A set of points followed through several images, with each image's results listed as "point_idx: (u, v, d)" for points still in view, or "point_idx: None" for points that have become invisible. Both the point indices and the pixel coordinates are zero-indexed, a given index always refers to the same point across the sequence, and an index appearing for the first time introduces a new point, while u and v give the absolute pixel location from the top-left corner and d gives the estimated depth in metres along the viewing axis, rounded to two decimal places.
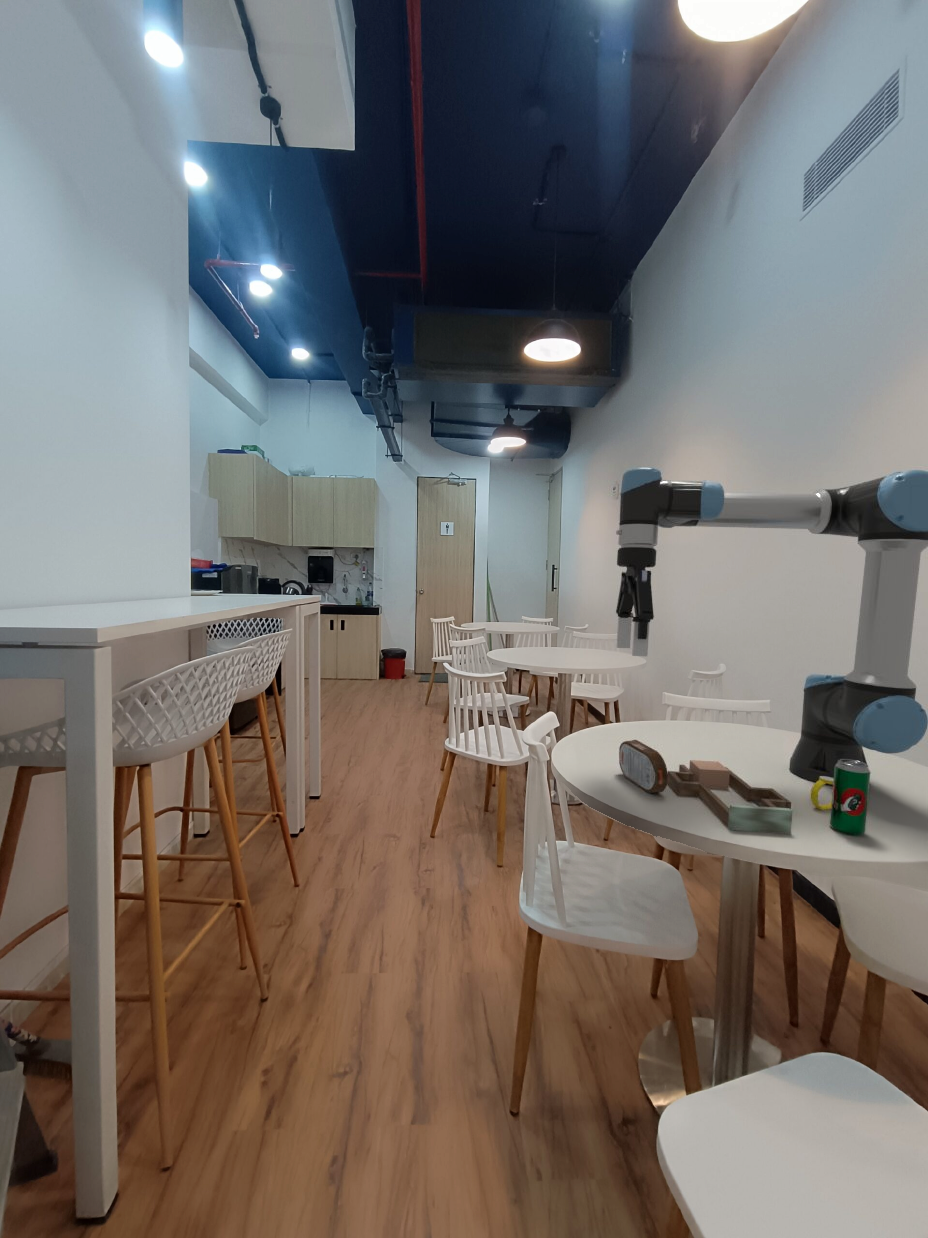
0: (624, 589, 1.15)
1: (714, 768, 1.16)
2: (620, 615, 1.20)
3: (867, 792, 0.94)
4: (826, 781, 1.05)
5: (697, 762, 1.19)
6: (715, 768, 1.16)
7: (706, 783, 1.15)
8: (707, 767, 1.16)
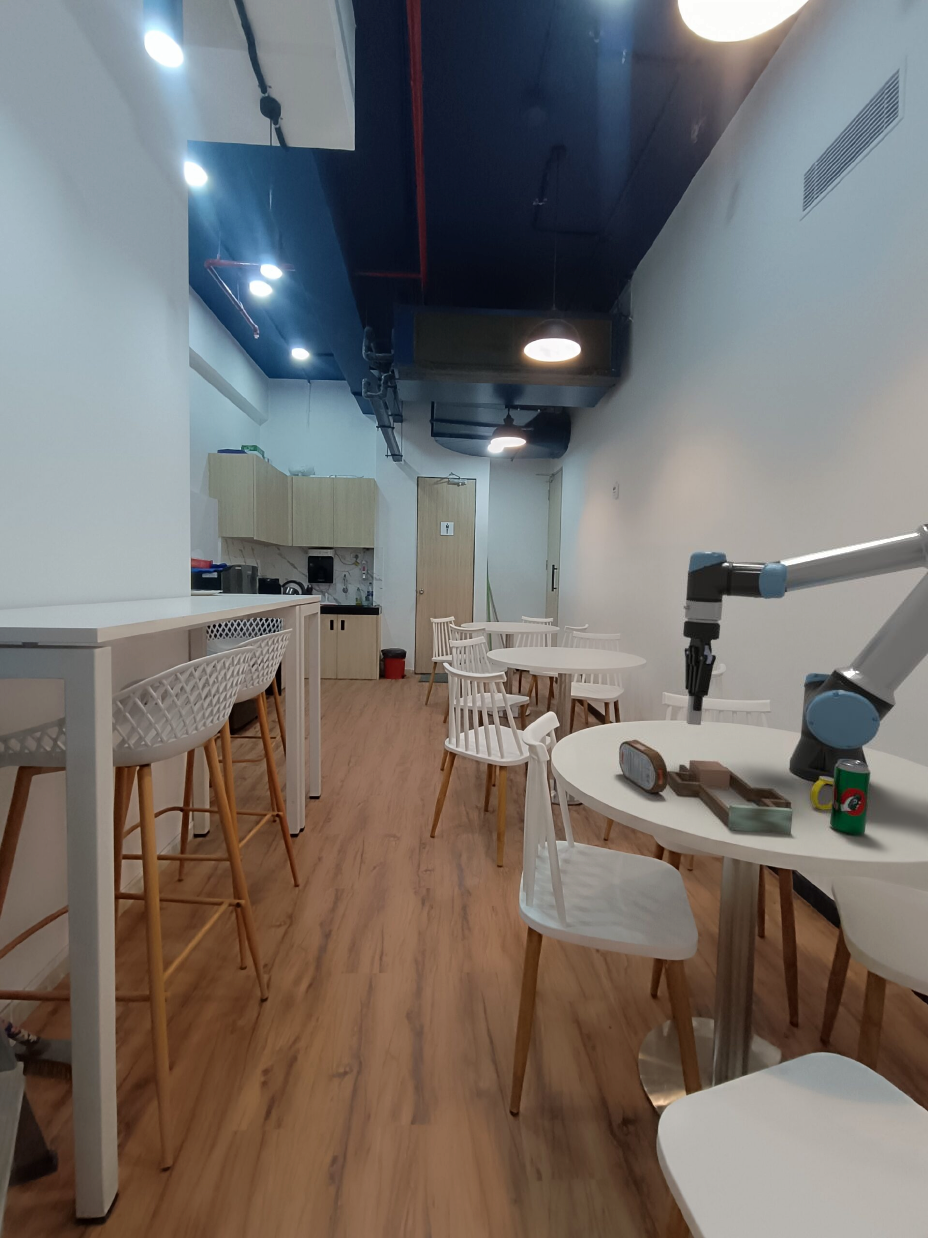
0: (691, 658, 1.27)
1: (714, 768, 1.16)
2: (690, 692, 1.27)
3: (867, 792, 0.94)
4: (826, 781, 1.05)
5: (697, 762, 1.19)
6: (715, 768, 1.16)
7: (707, 783, 1.15)
8: (707, 767, 1.16)
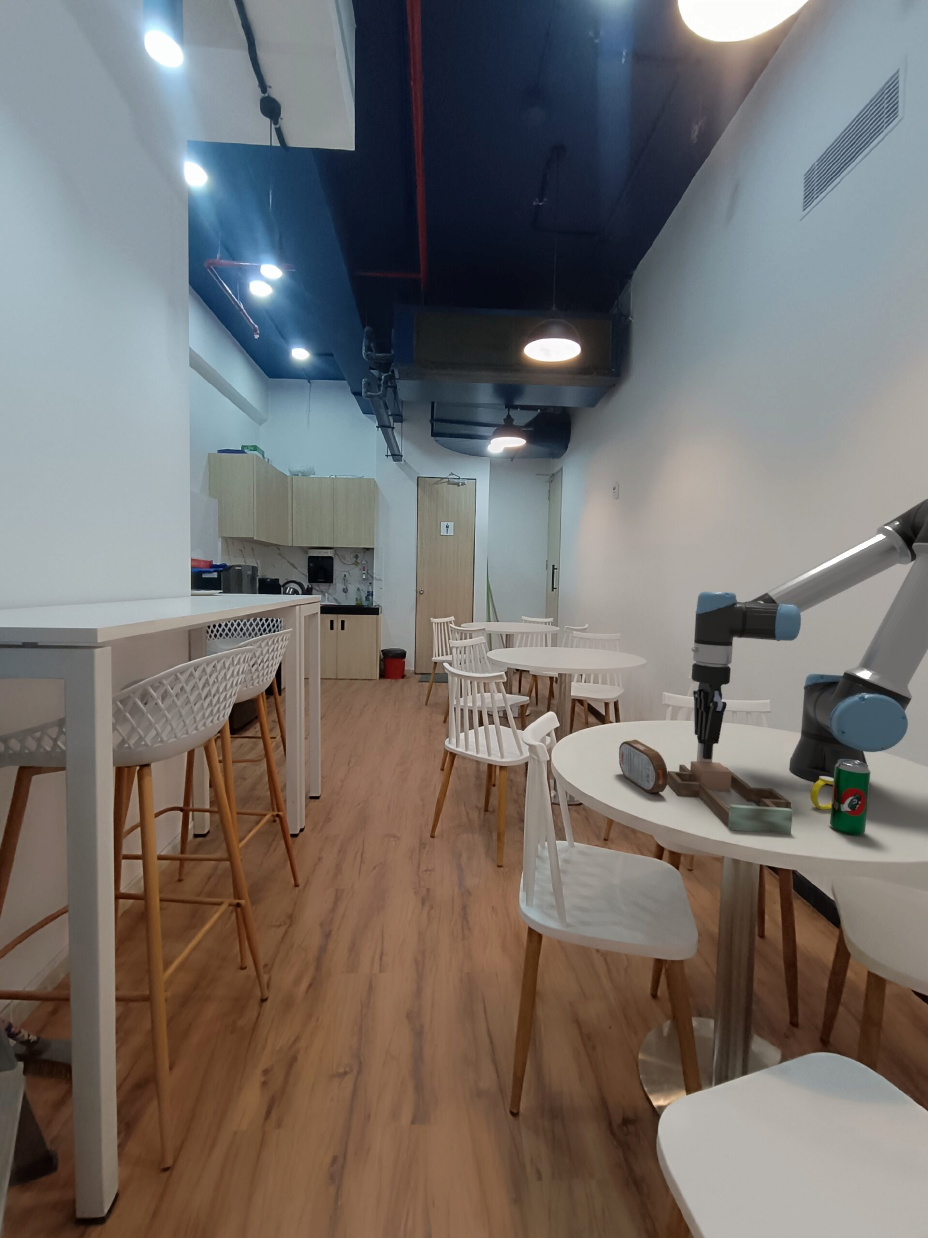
0: (700, 703, 1.20)
1: (716, 769, 1.15)
2: (700, 739, 1.21)
3: (867, 792, 0.94)
4: (826, 781, 1.05)
5: (698, 763, 1.18)
6: (717, 769, 1.14)
7: (708, 784, 1.14)
8: (709, 768, 1.15)
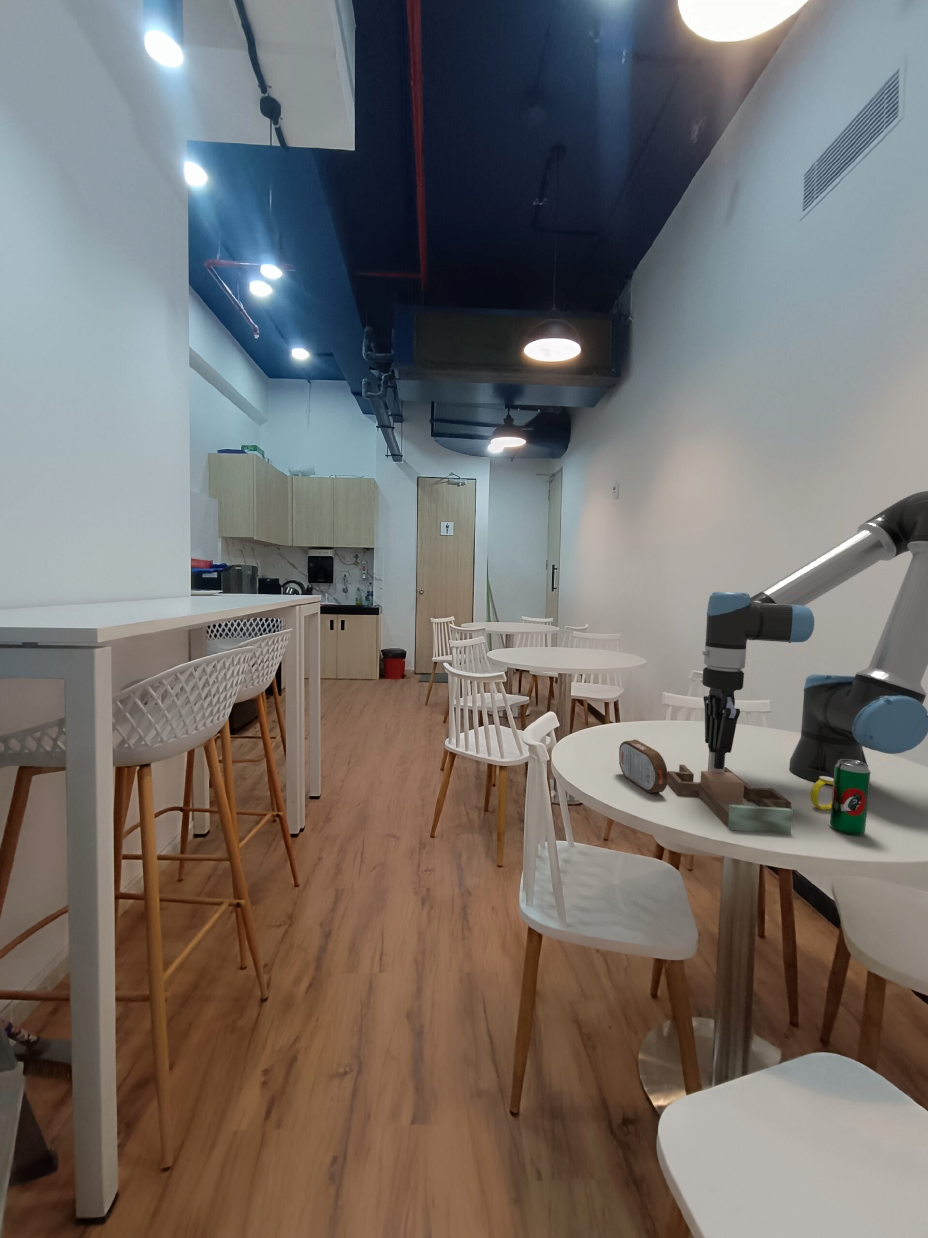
0: (711, 709, 1.14)
1: (727, 780, 1.08)
2: (711, 747, 1.14)
3: (867, 792, 0.94)
4: (826, 781, 1.05)
5: (709, 773, 1.12)
6: (728, 780, 1.08)
7: (718, 796, 1.07)
8: (720, 778, 1.09)
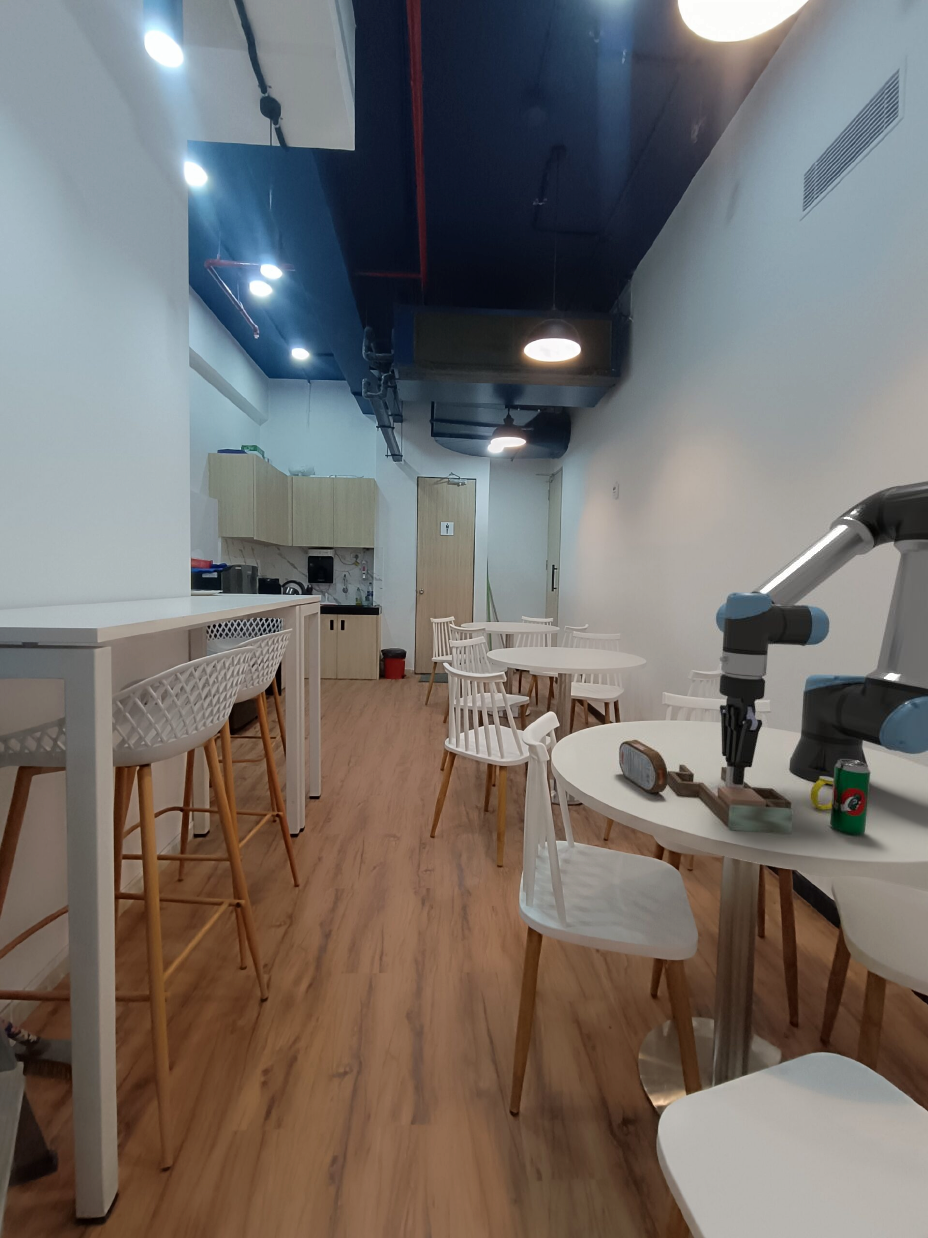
0: (729, 720, 1.05)
1: (747, 797, 1.00)
2: (729, 761, 1.05)
3: (867, 792, 0.94)
4: (826, 781, 1.05)
5: (727, 789, 1.03)
6: (748, 797, 0.99)
7: None
8: (739, 795, 1.00)
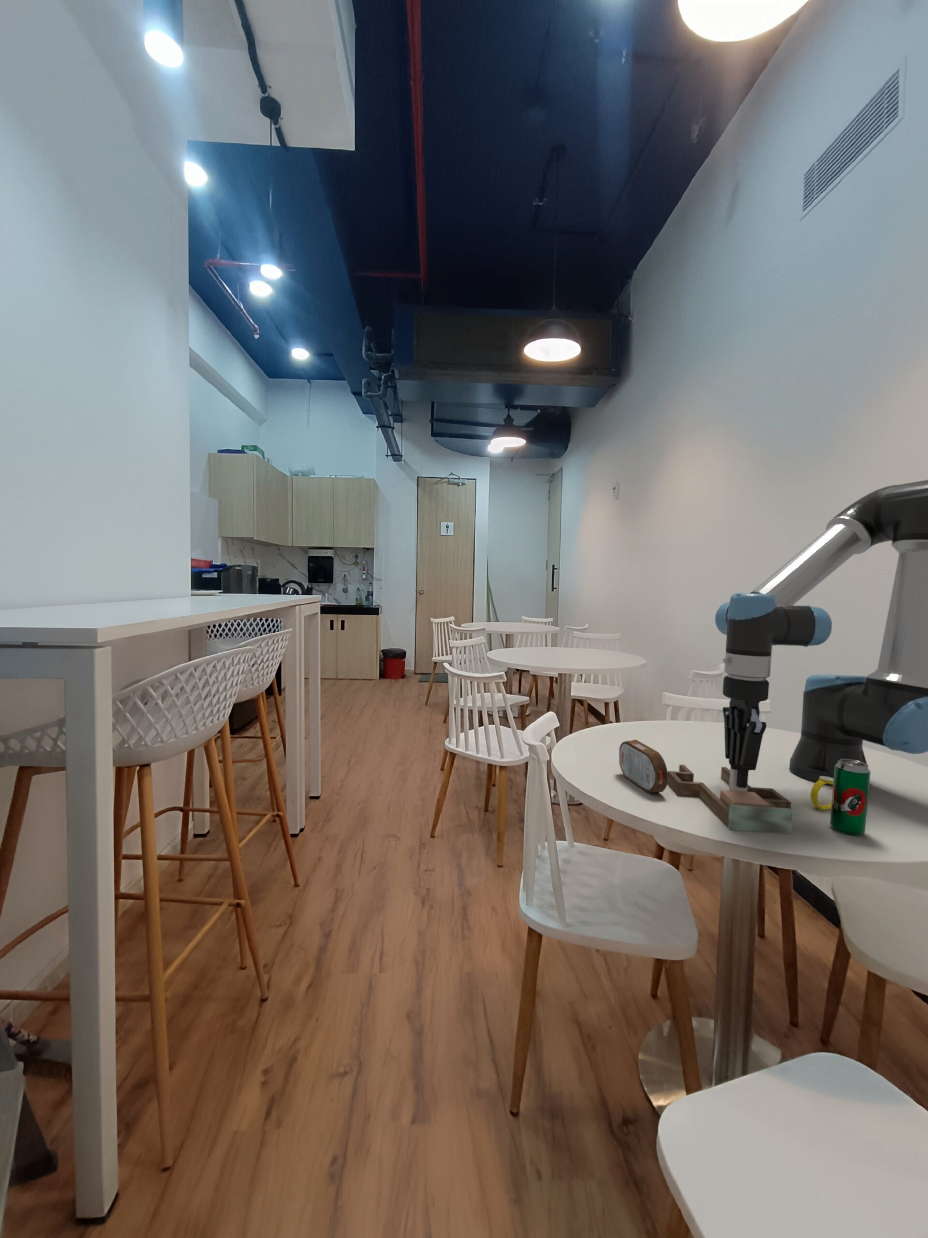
0: (732, 722, 1.04)
1: (750, 801, 0.98)
2: (733, 764, 1.04)
3: (867, 792, 0.94)
4: (826, 781, 1.05)
5: (730, 793, 1.02)
6: (752, 801, 0.98)
7: None
8: (742, 799, 0.99)
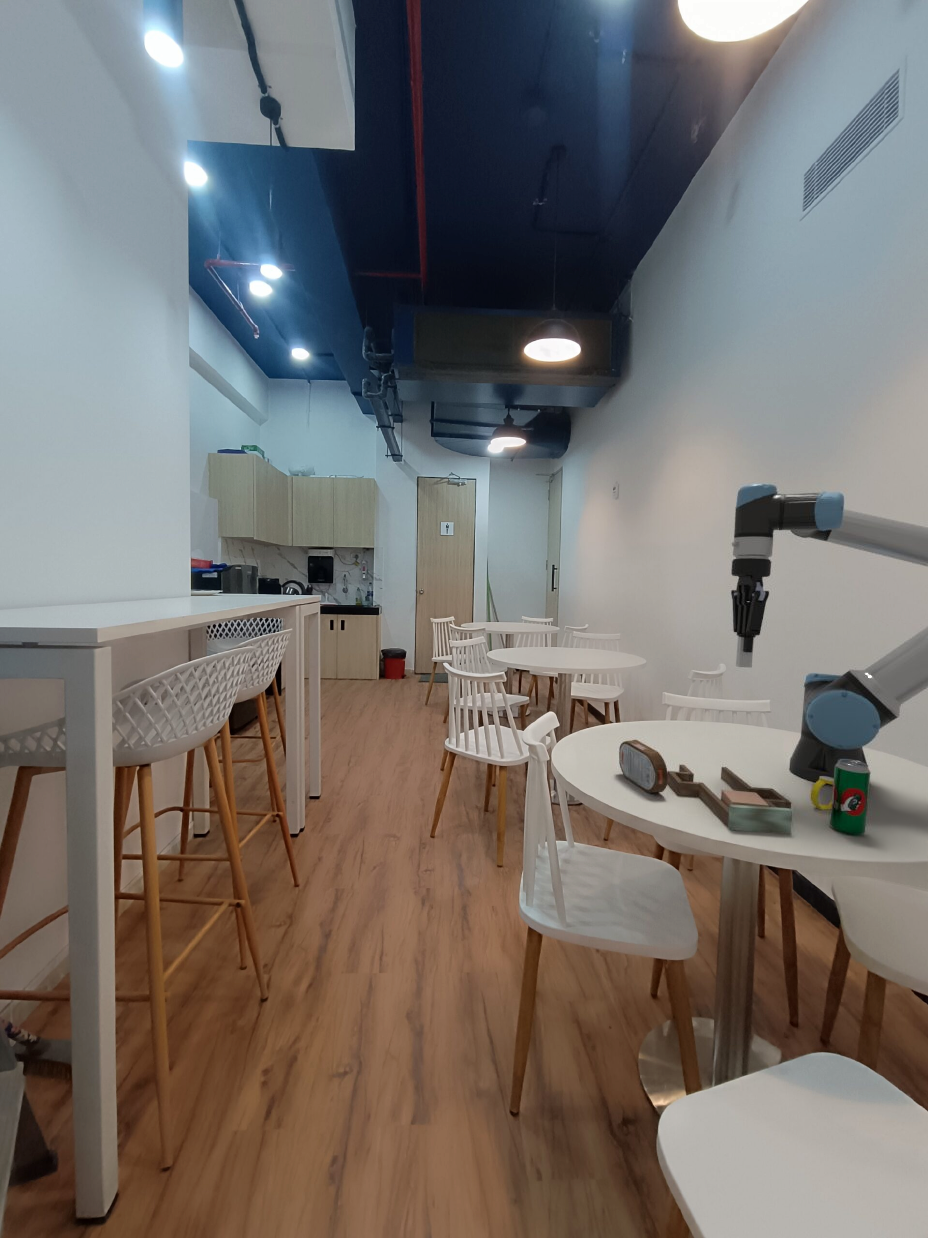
0: (740, 598, 1.21)
1: (750, 801, 0.98)
2: (740, 634, 1.22)
3: (867, 792, 0.94)
4: (826, 781, 1.05)
5: (730, 792, 1.02)
6: (751, 801, 0.98)
7: None
8: (741, 799, 0.99)
